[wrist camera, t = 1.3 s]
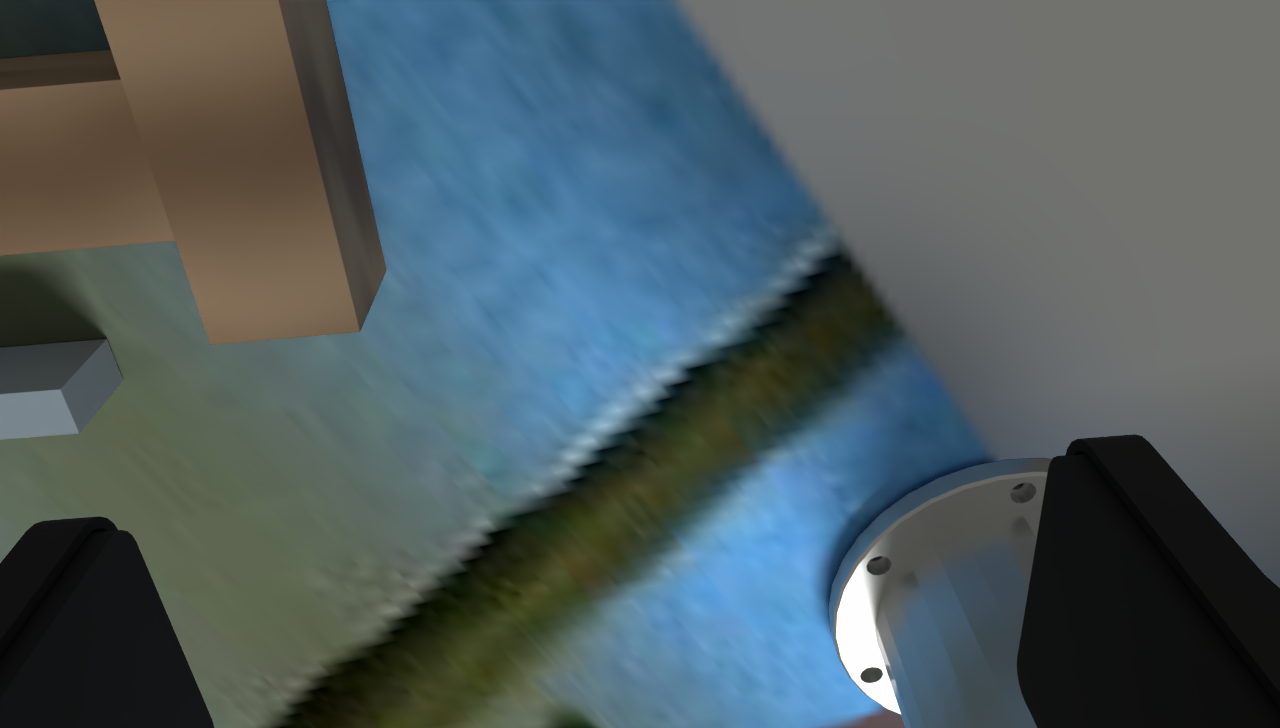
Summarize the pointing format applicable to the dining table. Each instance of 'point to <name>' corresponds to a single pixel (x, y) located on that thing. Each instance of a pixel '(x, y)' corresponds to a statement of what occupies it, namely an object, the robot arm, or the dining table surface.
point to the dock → (54, 387)
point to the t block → (201, 160)
